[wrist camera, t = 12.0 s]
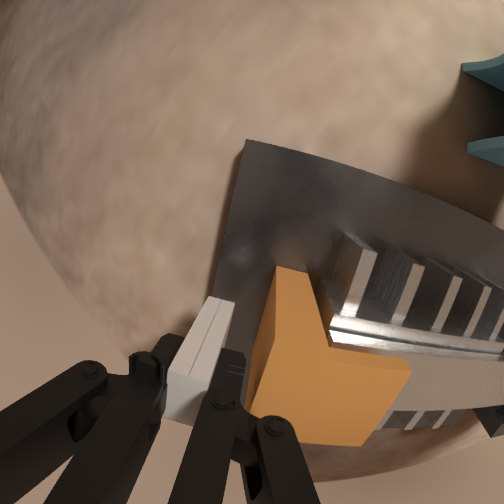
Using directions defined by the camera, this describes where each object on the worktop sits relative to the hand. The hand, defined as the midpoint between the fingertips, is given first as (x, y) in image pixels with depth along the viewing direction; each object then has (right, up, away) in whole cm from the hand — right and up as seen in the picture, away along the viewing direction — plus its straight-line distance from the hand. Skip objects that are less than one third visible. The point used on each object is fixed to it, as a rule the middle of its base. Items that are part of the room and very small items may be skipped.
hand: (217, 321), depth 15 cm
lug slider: (+6, -1, +3) cm, 6 cm away
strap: (+15, -4, -2) cm, 16 cm away
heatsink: (+14, -2, +4) cm, 15 cm away
